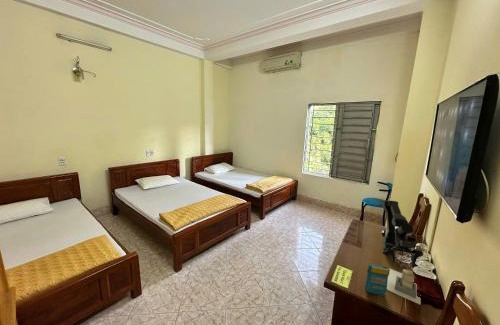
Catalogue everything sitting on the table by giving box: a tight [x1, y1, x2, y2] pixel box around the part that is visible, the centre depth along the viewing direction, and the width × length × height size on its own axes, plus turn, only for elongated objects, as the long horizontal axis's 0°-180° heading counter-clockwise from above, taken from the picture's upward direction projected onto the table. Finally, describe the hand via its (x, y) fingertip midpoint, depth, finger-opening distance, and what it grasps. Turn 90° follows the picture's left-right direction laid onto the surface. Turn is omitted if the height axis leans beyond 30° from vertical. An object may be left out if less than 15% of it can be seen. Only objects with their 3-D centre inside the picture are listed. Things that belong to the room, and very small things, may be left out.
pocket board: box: [386, 268, 422, 305], centre depth 116 cm, size 20×15×3 cm
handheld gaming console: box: [364, 263, 391, 297], centre depth 109 cm, size 10×4×15 cm, turn 76°
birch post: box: [400, 268, 416, 291], centre depth 112 cm, size 4×4×10 cm
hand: (403, 265), depth 118 cm, fingers open, 9 cm apart
